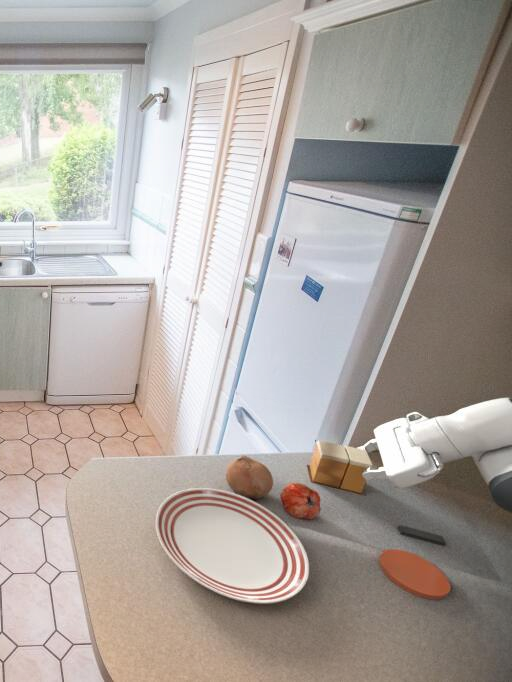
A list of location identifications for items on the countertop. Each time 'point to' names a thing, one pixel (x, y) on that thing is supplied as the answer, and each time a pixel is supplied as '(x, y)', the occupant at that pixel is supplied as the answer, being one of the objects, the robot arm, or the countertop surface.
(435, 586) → the coaster
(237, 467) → the onion
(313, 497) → the pomegranate
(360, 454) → the cake slice
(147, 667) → the countertop surface
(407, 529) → the dark grey bar
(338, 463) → the loaf cake
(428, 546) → the countertop surface
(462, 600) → the countertop surface
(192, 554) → the dinner plate
